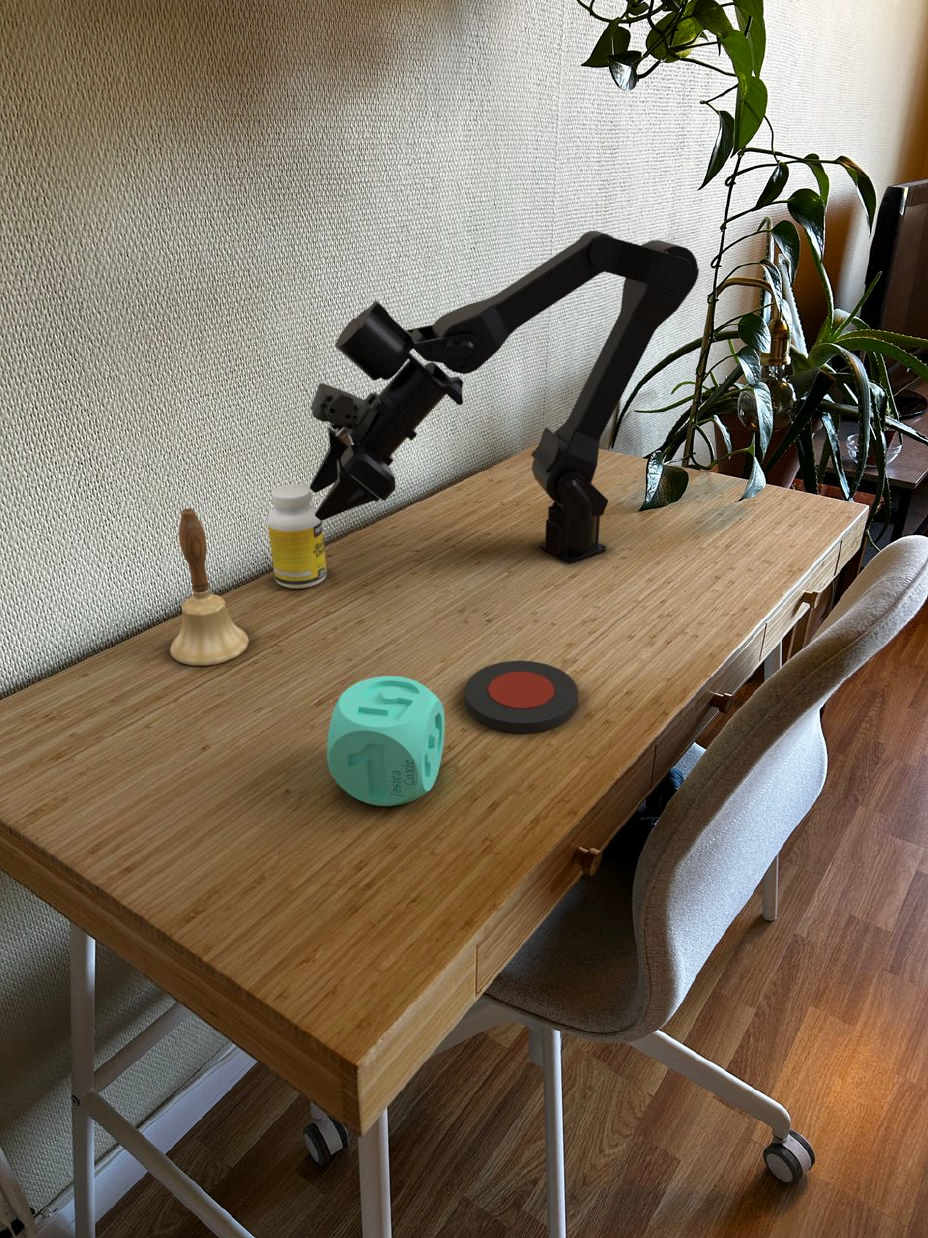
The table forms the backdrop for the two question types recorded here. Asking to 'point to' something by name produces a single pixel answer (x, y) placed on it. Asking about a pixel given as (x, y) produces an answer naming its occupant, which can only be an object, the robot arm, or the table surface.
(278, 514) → the pill bottle
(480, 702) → the disc
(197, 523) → the hand bell
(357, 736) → the decorative dice
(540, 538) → the table surface
